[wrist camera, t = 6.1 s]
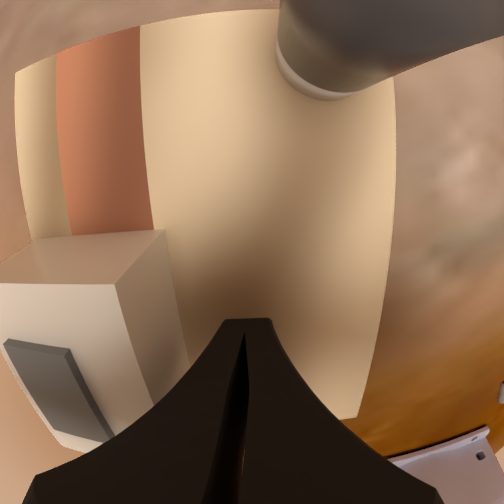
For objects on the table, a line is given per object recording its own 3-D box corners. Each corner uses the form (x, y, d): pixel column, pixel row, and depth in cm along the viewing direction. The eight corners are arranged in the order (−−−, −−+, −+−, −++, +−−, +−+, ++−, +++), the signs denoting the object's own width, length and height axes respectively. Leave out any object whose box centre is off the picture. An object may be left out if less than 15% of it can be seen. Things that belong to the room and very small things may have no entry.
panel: (381, 22, 6) (385, 19, 6) (354, 410, 12) (356, 417, 12) (22, 73, 7) (15, 72, 7) (102, 407, 12) (100, 413, 12)
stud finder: (164, 228, 9) (108, 292, 5) (197, 399, 11) (182, 478, 8) (37, 239, 9) (-35, 286, 5) (91, 388, 11) (59, 451, 8)
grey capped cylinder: (361, 16, 6) (471, -100, 1) (376, 99, 7) (546, 63, 1) (269, 18, 6) (268, -144, 1) (282, 103, 7) (322, 17, 2)
